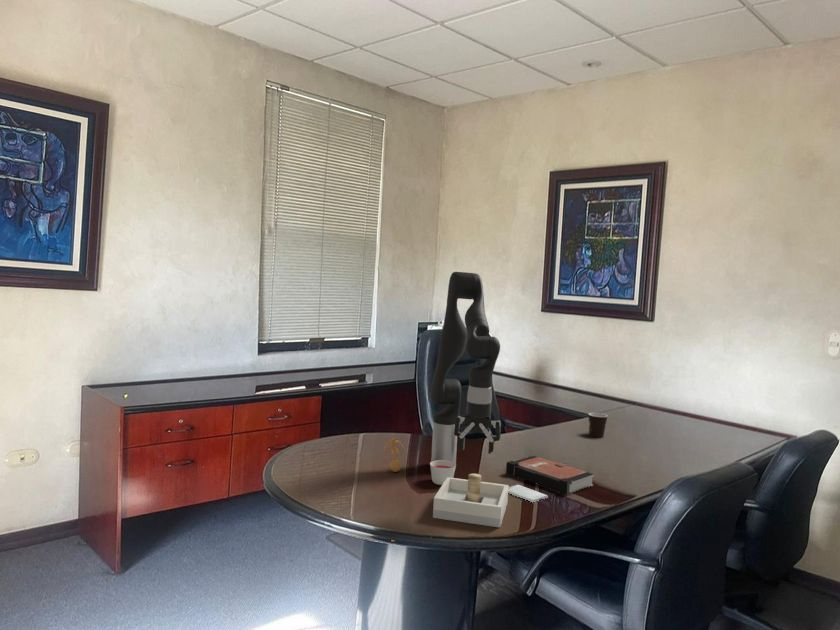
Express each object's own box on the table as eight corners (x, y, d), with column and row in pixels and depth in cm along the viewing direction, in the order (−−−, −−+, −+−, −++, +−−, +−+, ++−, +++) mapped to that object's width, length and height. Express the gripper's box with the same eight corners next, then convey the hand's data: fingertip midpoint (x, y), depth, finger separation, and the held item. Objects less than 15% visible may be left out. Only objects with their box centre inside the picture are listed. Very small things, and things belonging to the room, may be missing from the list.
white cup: (456, 479, 221) (457, 461, 221) (452, 487, 213) (453, 469, 212) (431, 476, 223) (432, 459, 223) (426, 484, 214) (427, 466, 214)
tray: (446, 495, 205) (447, 477, 205) (507, 503, 201) (508, 485, 200) (432, 517, 186) (433, 497, 186) (500, 527, 181) (501, 507, 181)
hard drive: (503, 488, 211) (532, 499, 202) (518, 484, 217) (548, 494, 208) (503, 493, 211) (532, 504, 202) (518, 488, 217) (547, 499, 208)
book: (594, 486, 223) (595, 472, 223) (566, 496, 211) (567, 482, 211) (534, 466, 242) (535, 454, 242) (505, 475, 230) (506, 462, 230)
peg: (467, 503, 199) (469, 473, 198) (480, 505, 198) (482, 474, 197) (465, 508, 195) (467, 476, 194) (478, 510, 194) (480, 478, 193)
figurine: (386, 474, 223) (388, 441, 222) (380, 469, 228) (381, 437, 227) (407, 472, 227) (409, 439, 226) (400, 467, 232) (402, 435, 231)
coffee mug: (602, 439, 287) (604, 418, 286) (584, 436, 291) (585, 414, 291) (610, 434, 296) (611, 413, 296) (592, 431, 301) (593, 410, 300)
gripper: (503, 400, 195) (500, 450, 197) (458, 395, 199) (455, 445, 200) (500, 405, 188) (497, 457, 190) (454, 400, 192) (451, 451, 193)
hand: (476, 451), depth 195 cm, fingers open, 8 cm apart
